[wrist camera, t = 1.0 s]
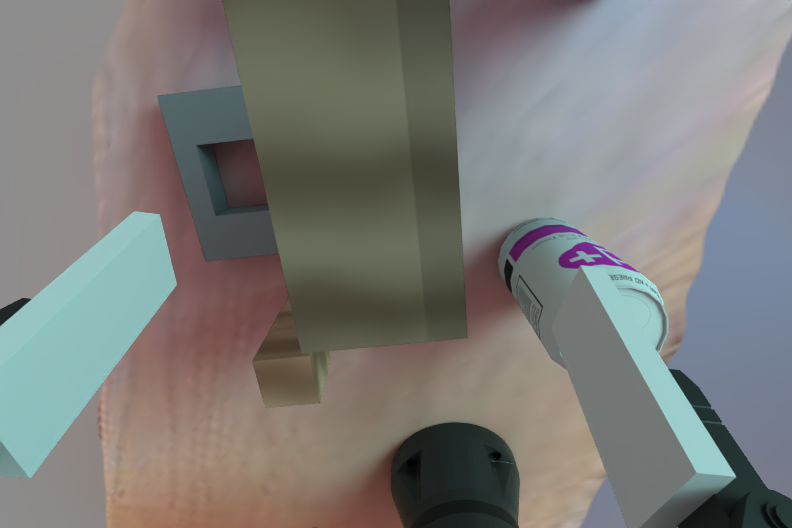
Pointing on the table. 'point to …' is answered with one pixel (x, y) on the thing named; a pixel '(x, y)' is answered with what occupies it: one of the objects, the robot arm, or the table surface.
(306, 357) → the peg
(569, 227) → the supplement can
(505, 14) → the table surface
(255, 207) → the socket
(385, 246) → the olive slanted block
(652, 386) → the robot arm
